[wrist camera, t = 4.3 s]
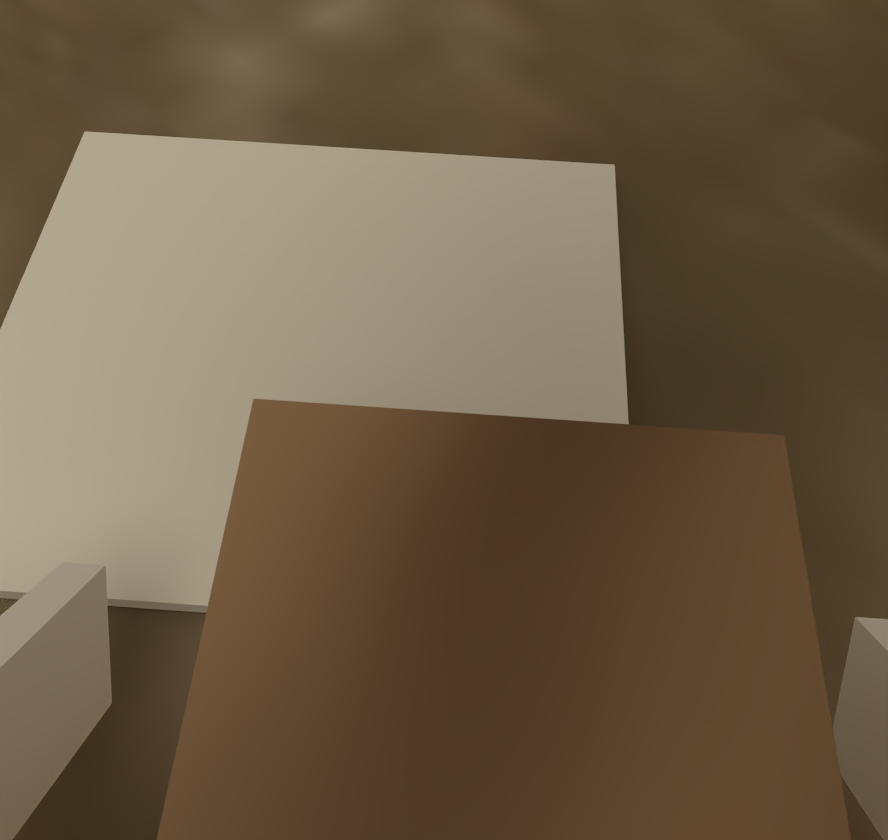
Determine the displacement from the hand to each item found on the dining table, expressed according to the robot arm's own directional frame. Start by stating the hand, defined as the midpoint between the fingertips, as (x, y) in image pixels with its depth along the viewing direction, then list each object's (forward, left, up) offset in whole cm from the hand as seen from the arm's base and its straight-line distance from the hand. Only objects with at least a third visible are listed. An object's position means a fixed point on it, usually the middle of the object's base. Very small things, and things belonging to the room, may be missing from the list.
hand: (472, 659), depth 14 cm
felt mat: (+5, -10, -5) cm, 12 cm away
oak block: (0, +2, -5) cm, 6 cm away
